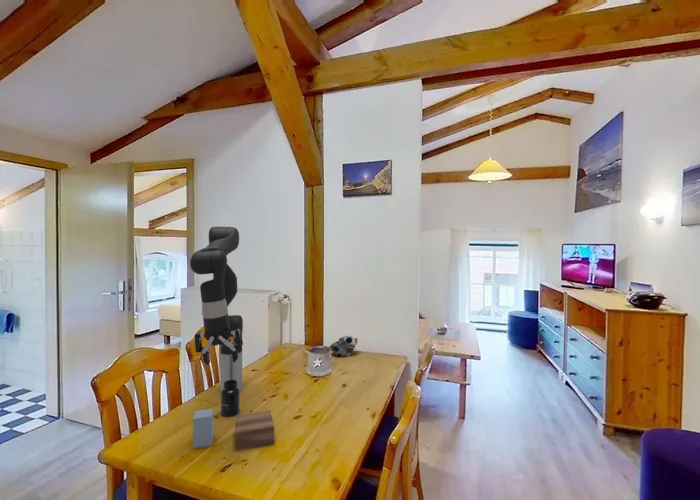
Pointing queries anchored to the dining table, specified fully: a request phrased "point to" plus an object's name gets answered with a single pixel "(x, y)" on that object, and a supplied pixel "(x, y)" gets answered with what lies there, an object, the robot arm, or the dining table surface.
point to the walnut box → (254, 430)
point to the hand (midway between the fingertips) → (221, 362)
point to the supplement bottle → (230, 398)
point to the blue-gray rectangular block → (203, 428)
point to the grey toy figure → (344, 346)
